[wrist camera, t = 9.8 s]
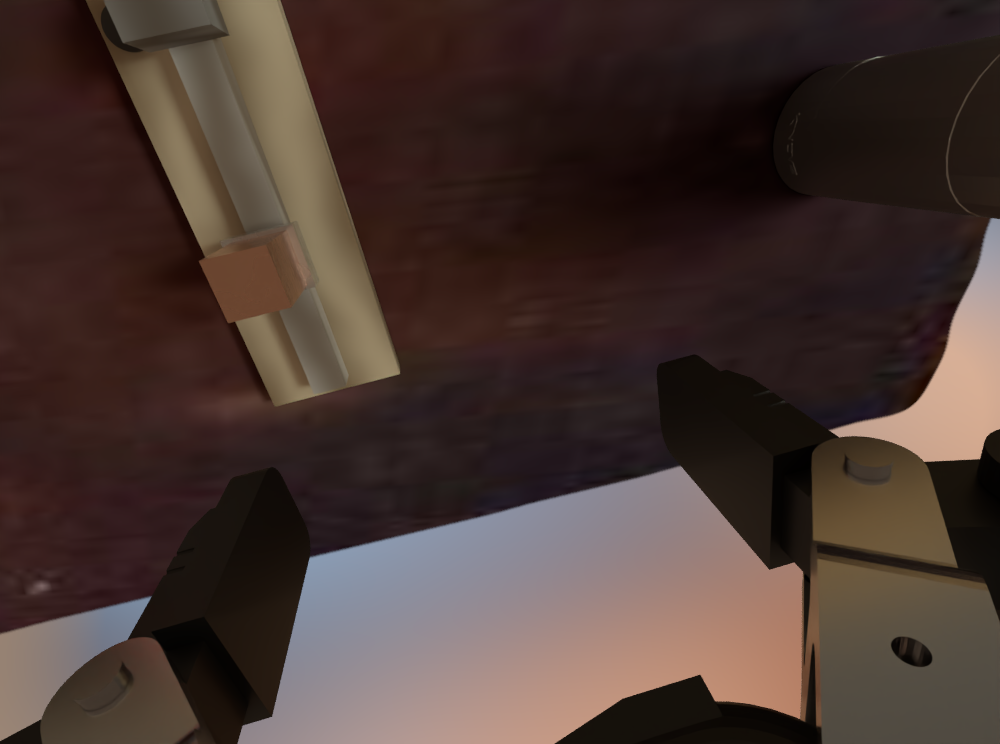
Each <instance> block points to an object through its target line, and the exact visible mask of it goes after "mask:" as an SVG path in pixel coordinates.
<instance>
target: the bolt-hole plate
mask: <svg viewBox="0 0 1000 744" xmlns="http://www.w3.org/2000/svg"><path fill="white" fill-rule="evenodd" d="M86 2H87V4H88V7H89V9H90V11H91V13H92V15H93V17H94V19H95V22H96V24H97V26H98V28H99V30H100V32H101V34H102V37H103V39H104V41H105V43H106V45H107V47H108V49H109V52H110V54H111V56H112V58H113V60H114V62H115V64H116V67H117V69H118V71H119V73H120V75H121V77H122V80H123V82H124V84H125V86H126V88H127V90H128V92H129V95H130V97H131V99H132V101H133V103H134V105H135V107H136V110H137V112H138V114H139V116H140V118H141V120H142V122H143V125H144V127H145V129H146V131H147V133H148V135H149V137H150V140H151V142H152V144H153V146H154V148H155V150H156V153H157V155H158V157H159V159H160V161H161V163H162V165H163V168H164V170H165V172H166V174H167V176H168V178H169V180H170V183H171V185H172V187H173V189H174V191H175V193H176V195H177V198H178V200H179V202H180V204H181V206H182V208H183V210H184V213H185V215H186V217H187V219H188V221H189V223H190V226H191V228H192V230H193V232H194V234H195V236H196V238H197V241H198V243H199V245H200V247H201V249H202V251H203V253H204V256H205V257H207V256H208V255H210V254H212V253H214V252H216V251H217V250H219V249H221V248H222V245H221V243H220V241H222V240H224V239H226V238H228V237H231V236H236V235H240V234H244V233H248V232H252V231H257V230H261V229H265V228H269V227H273V226H277V225H282V224H286V223H290V222H294V221H298V224H299V227H300V230H301V232H302V235H303V238H304V240H305V243H306V246H307V248H308V251H309V254H310V256H311V259H312V262H313V264H314V267H315V270H316V272H317V275H318V278H319V280H320V281H319V283H318V284H317V286H316V287H313V288H309V289H305V290H304V291H303V292H302V293H301V295H300V296H299V298H298V299H297V300H296V302H295V303H294V305H293V306H292V307H291V308H287V309H283V310H279V311H275V312H271V313H267V314H263V315H259V316H255V317H251V318H247V319H243V320H239V321H235V322H236V324H237V326H238V329H239V331H240V333H241V335H242V337H243V339H244V341H245V344H246V346H247V348H248V350H249V352H250V354H251V357H252V359H253V361H254V363H255V365H256V367H257V369H258V372H259V374H260V376H261V378H262V380H263V382H264V384H265V387H266V389H267V391H268V393H269V395H270V397H271V399H272V402H273V404H274V406H275V407H276V406H280V405H283V404H287V403H291V402H295V401H299V400H302V399H306V398H310V397H314V396H318V395H322V394H325V393H329V392H333V391H337V390H341V389H345V388H348V387H352V386H356V385H360V384H364V383H368V382H371V381H375V380H379V379H383V378H387V377H390V376H394V375H398V374H400V364H399V361H398V358H397V355H396V352H395V349H394V346H393V343H392V340H391V337H390V334H389V331H388V328H387V325H386V322H385V319H384V316H383V313H382V309H381V306H380V303H379V300H378V297H377V294H376V291H375V288H374V285H373V282H372V279H371V276H370V273H369V270H368V267H367V264H366V261H365V258H364V254H363V251H362V248H361V245H360V242H359V239H358V236H357V233H356V230H355V227H354V224H353V221H352V218H351V215H350V212H349V209H348V206H347V203H346V199H345V196H344V193H343V190H342V187H341V184H340V181H339V178H338V175H337V172H336V169H335V166H334V163H333V160H332V157H331V154H330V151H329V148H328V144H327V141H326V138H325V135H324V132H323V129H322V126H321V123H320V120H319V117H318V114H317V111H316V108H315V105H314V102H313V99H312V96H311V93H310V89H309V86H308V83H307V80H306V77H305V74H304V71H303V68H302V65H301V62H300V59H299V56H298V53H297V50H296V47H295V44H294V41H293V38H292V34H291V31H290V28H289V25H288V22H287V19H286V16H285V13H284V10H283V7H282V4H281V1H280V0H86Z"/></svg>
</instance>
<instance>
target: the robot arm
mask: <svg viewBox="0 0 1000 744" xmlns="http://www.w3.org/2000/svg"><path fill="white" fill-rule="evenodd" d="M773 154H774V162H775V165H776V169H777V171H778V173H779V175H780V177H781V179H782V180H783V181H784V182H785V183H786V184H787V186H788V187H789V188H791V189H793V190H795V191H796V192H798V193H802V194H806V195H812V196H820V197H828V198H836V199H842V200H849V201H857V202H866V203H874V204H882V205H890V206H898V207H906V208H914V209H922V210H930V211H938V212H946V213H954V214H962V215H970V216H978V217H987V218H997V219H1000V35H996V36H991V37H985V38H980V39H975V40H969V41H964V42H958V43H953V44H947V45H942V46H937V47H931V48H926V49H920V50H915V51H910V52H904V53H899V54H893V55H888V56H881V57H875V58H870V59H865V60H860V61H854V62H849V63H844V64H839V65H834V66H830V67H826V68H824V69H822V70H820V71H818V72H816V73H814V74H813V75H812V76H810V77H809V78H808V79H806V80H805V81H804V82H803V83H802V84H801V85H800V86H799V87H798V88H797V89H796V90H795V91H794V92H793V94H792V95H791V97H790V98H789V100H788V101H787V103H786V104H785V106H784V108H783V110H782V112H781V114H780V117H779V119H778V122H777V126H776V129H775V133H774V142H773ZM657 384H658V396H659V409H660V421H661V430H662V434H663V438H664V441H665V443H666V446H667V448H668V450H669V452H670V453H671V455H672V456H673V457H674V458H675V460H676V461H677V462H678V463H679V464H680V465H681V467H682V468H683V469H684V470H685V471H686V472H687V474H688V475H689V476H690V477H691V478H692V479H693V480H694V482H695V483H696V484H697V485H698V486H699V488H701V490H702V491H703V492H704V493H705V495H706V496H707V497H708V498H709V499H710V501H711V502H712V503H713V504H714V505H715V506H716V507H717V509H718V510H719V511H720V512H721V513H722V515H723V516H724V517H725V518H726V519H727V520H728V522H729V523H730V524H731V525H732V526H733V528H734V529H735V530H736V531H737V532H738V533H739V534H740V536H741V537H742V538H743V539H744V540H745V541H746V542H747V544H748V545H749V546H750V547H751V549H752V550H753V551H754V552H755V553H756V554H757V556H758V557H759V558H760V559H761V560H762V562H763V563H764V564H765V565H766V566H767V567H768V569H769V570H770V569H773V568H777V567H780V566H783V565H787V564H790V563H793V562H795V563H796V565H797V566H798V567H799V568H800V569H801V570H802V571H803V581H802V692H801V713H800V714H801V715H800V719H798V718H796V717H793V716H790V715H787V714H784V713H781V712H778V711H776V710H773V709H768V708H764V707H760V706H756V705H751V704H745V703H735V702H715V701H714V699H713V697H712V695H711V693H710V691H709V690H708V688H707V686H706V684H705V683H704V681H703V679H702V677H701V675H698V676H695V677H692V678H688V679H685V680H682V681H679V682H676V683H672V684H669V685H666V686H662V687H659V688H656V689H653V690H650V691H646V692H643V693H640V694H637V695H633V696H630V697H627V698H624V699H622V700H620V701H619V702H617V703H616V704H614V705H613V706H611V707H610V708H608V709H607V710H605V711H604V712H602V713H601V714H599V715H597V716H596V717H594V718H593V719H592V720H590V721H588V722H587V723H585V724H584V725H582V726H581V727H579V728H578V729H576V730H575V731H574V732H572V733H570V734H569V735H567V736H566V737H564V738H563V739H561V740H560V741H558V742H557V743H555V744H1000V429H999V430H996V431H994V432H992V433H990V434H989V435H988V436H987V437H986V440H985V442H984V446H983V450H982V454H981V458H980V459H977V460H956V461H935V462H924V461H923V460H922V459H920V457H918V456H917V455H916V454H914V453H913V452H911V451H910V450H908V449H906V448H904V447H902V446H899V445H897V444H894V443H891V442H888V441H885V440H880V439H875V438H869V437H857V436H851V437H840V438H839V437H838V436H836V435H835V434H833V433H832V432H831V431H829V430H828V429H826V428H825V427H823V426H822V425H820V424H819V423H817V422H816V421H814V420H813V419H811V418H810V417H808V416H807V415H805V414H804V413H802V412H801V411H800V410H798V409H797V408H795V407H794V406H792V405H791V404H789V403H787V404H786V403H785V400H783V399H782V398H780V397H779V396H777V395H776V394H774V393H770V390H769V389H767V388H766V387H764V386H763V385H761V384H760V383H758V382H757V381H755V380H754V379H752V378H750V377H747V376H744V375H741V374H738V373H734V372H731V371H728V370H725V371H721V372H720V371H719V370H717V369H716V368H715V367H713V366H712V365H710V364H709V363H708V362H706V361H705V360H704V359H702V358H701V357H699V356H698V355H690V356H687V357H683V358H679V359H675V360H672V361H668V362H664V363H661V364H659V366H658V368H657ZM309 557H310V539H309V534H308V530H307V527H306V525H305V522H304V520H303V518H302V516H301V514H300V512H299V510H298V508H297V506H296V504H295V502H294V500H293V498H292V496H291V494H290V492H289V490H288V488H287V486H286V484H285V482H284V480H283V478H282V476H281V474H280V473H279V471H278V470H277V469H275V468H273V467H270V468H266V469H263V470H259V471H255V472H252V473H248V474H244V475H240V476H237V477H234V478H232V479H231V480H230V482H229V484H228V486H227V487H226V489H225V491H224V493H223V495H222V497H221V499H220V501H219V503H218V505H217V507H216V508H214V509H210V510H209V511H208V512H207V513H206V514H205V515H204V516H203V517H202V518H201V519H200V520H199V521H198V522H197V523H196V524H195V525H194V526H193V527H192V528H191V529H190V530H189V532H188V533H187V535H186V537H185V539H184V540H183V542H182V544H181V546H180V548H179V549H178V551H177V556H176V557H174V558H173V560H172V562H171V564H170V565H169V567H168V569H167V575H165V576H163V578H162V580H161V581H160V583H159V585H158V587H157V588H156V590H155V592H154V594H153V595H152V597H151V599H150V601H149V603H148V604H147V606H146V608H145V610H144V612H143V613H142V615H141V617H140V619H139V620H138V622H137V624H136V626H135V627H134V629H133V631H132V633H131V635H130V636H129V638H128V640H126V641H124V642H121V643H119V644H116V645H114V646H112V647H110V648H108V649H106V650H105V651H103V652H101V653H100V654H98V655H97V656H95V657H94V658H92V659H91V660H90V661H88V662H87V663H86V664H84V665H83V666H82V667H81V668H80V669H78V670H77V671H76V672H75V673H74V674H73V675H72V676H71V677H70V678H69V679H68V680H67V681H66V682H65V683H64V684H63V685H62V686H61V687H60V689H59V690H58V691H57V692H56V694H55V695H54V696H53V698H52V699H51V701H50V702H49V704H48V706H47V707H46V710H45V712H44V714H43V716H42V719H41V720H39V721H37V722H36V723H34V724H32V725H30V726H28V727H26V728H24V729H22V730H21V731H19V732H17V733H15V734H13V735H11V736H9V737H8V738H6V739H4V740H2V741H0V744H237V743H238V739H239V736H240V732H241V729H242V726H243V725H245V724H249V723H252V722H256V721H259V720H262V719H266V718H269V717H272V714H273V710H274V706H275V702H276V697H277V693H278V689H279V685H280V680H281V676H282V672H283V667H284V663H285V659H286V655H287V651H288V646H289V642H290V638H291V634H292V629H293V625H294V621H295V616H296V613H297V608H298V604H299V600H300V596H301V591H302V587H303V583H304V578H305V574H306V570H307V566H308V561H309Z"/></svg>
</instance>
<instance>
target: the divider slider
mask: <svg viewBox="0 0 1000 744" xmlns="http://www.w3.org/2000/svg"><path fill="white" fill-rule="evenodd" d="M220 243H221V245H222V248H221V249H219V250H217V251H216V252H214V253H212V254H210V255H208V256H207V257H205V258H203V259H201V260H200V261H199V263H200V265H201V267H202V269H203V271H204V273H205V275H206V278H207V280H208V282H209V284H210V286H211V288H212V290H213V292H214V294H215V297H216V299H217V301H218V303H219V305H220V307H221V309H222V311H223V314H224V316H225V318H226V320H227V322H228V323H231V322H235V321H239V320H243V319H247V318H251V317H255V316H259V315H263V314H267V313H271V312H275V311H279V310H283V309H287V308H291V307H292V306H293V305H294V303H295V302H296V300H297V299H298V298H299V296H300V295H301V293H302V292H303V291H304V290H305V289H309V288H313V287H316V286H317V284H318V283H319V281H320V280H319V278H318V275H317V272H316V270H315V267H314V264H313V262H312V259H311V256H310V254H309V251H308V248H307V246H306V243H305V240H304V238H303V235H302V232H301V230H300V227H299V224H298V221H294V222H290V223H286V224H282V225H277V226H273V227H269V228H265V229H261V230H257V231H252V232H248V233H244V234H240V235H236V236H231V237H228V238H226V239H224V240H222V241H220Z"/></svg>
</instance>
